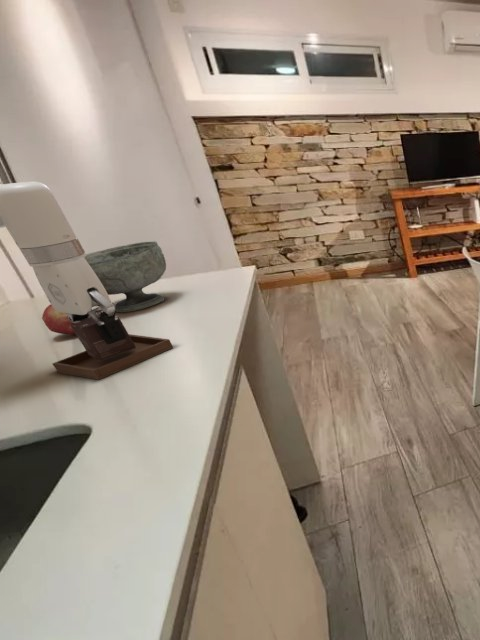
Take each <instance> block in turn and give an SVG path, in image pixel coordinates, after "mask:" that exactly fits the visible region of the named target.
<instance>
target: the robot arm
mask: <svg viewBox="0 0 480 640" xmlns="http://www.w3.org/2000/svg"><path fill="white" fill-rule="evenodd" d="M1 228H6V230H7V231H8V233H9V235H10V236H11V238H12V240H13V241H14V243H15V244H16V246H17V248H18V249H19V251H20V252H21V254H22V256H23V257H24V259H25V261H26V262H27V264H28V265H29V267H31V268H32V270H33V272H34V275H35V276H36V279H37V281H38V283H39V285H40V287H41V289H42V291H43V293H44V295H45V297H46V298H47V300H48V302H49V304H50V305H52V307H53V308H54V310H56V311H58V312H61V313H66V314H67V315H68V318H69V320H70V321H71V322H76V321H79V320H82V319H86V318H88V317H90V316H91V317H92V318H93V319H94V320H95V321H96V323H97V324H98V326H96V327H97V329H98V330H99V332H100V334H101V335H102V337H103V339H104V340H105V342H106V343H107V344H112V343H115V342H117V341H120V340H122V339H125V338H126V337H127V336H126V334H125V332H124V331H123V329H122V327H121V325H120V324H119V322H118V318H117V316H118V315H117V314H116V312H117V311H115V306H114V305H115V304H113V302H112V300H111V298H110V295H108V294H107V292H106V290H105V288H104V286H103V285H102V283H101V282H100V280H99V278H98V277H97V275H96V274H95V272H94V271H93V269H92V268H91V266H90V265H89V264H88V262H87V261H86V260H85V258H84V257H85V256H87V255H86V254H87V253H86V251H85V250H84V248H83V246H82V244H81V242H80V241H79V239H78V237H77V235H76V234H75V231H74V230H73V228H72V226H71V225H70V223H69V221H68V219H67V217H66V215H65V213H64V211H63V210H62V208H61V207H60V204H59V203H58V200H57V199H56V196H54V194H53V192H52V190H51V189H50V187H48V186H47V185H46V184H44V183H43V182H40V181H20V182H12V183H0V229H1ZM94 307H96V308H94ZM99 314H100V317H99V316H98V315H99Z"/></svg>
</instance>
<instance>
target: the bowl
mask: <svg viewBox="0 0 480 640" xmlns="http://www.w3.org/2000/svg"><path fill="white" fill-rule="evenodd" d="M86 255H87V256H85V257H84V258H85V260H86V261H87V262H88V264H89V265H90V266H91V268H92V269H93V271H94V272H95V274H96V275H97V277H98V278H99V280H100V282H101V283H102V285H103V286H104V288H105V290H106V292H107V294H108V295H109V296H111V295H114V296H115V295H120V294H123V295H124V296H125V298H124V299H121V300H120V301H117V302H116V303H115V304H114V306H115V310H114V311H115V312H118V313H128V312H129V313H130V312H136V311H139V310H143V309H147V308H150V307H152V306H155V305H157V304H159V303H161V302H163V301H165V298H164V296H162V294H158V293H155V292H154V293H153V292H151V293H145V292H144V291H143V289H144V288H147V287H148V286H150V285H152V284H155V283H156V282H158V281H159V280H160V279H161V278H162V277H163V276H164V274H165V272H166V269H167V261H166V259H165V255H164V253H163V250H162V248H161V246H159V244H158V242H157V241H155V240H153V241H141V242H135V243H129V244H126V245H118V246H114V247H110V248H104V249H101V250H96V251H93V252H88V253H86Z"/></svg>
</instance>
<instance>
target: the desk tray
mask: <svg viewBox="0 0 480 640" xmlns="http://www.w3.org/2000/svg"><path fill="white" fill-rule="evenodd" d="M128 334H129V336H130V338H131V339H132V341H133V343H134V345H135V346H136V348H135V349H133V350H130V351H127V352H124V353H121V354H118V355H116V356H113V357H110V358H107V359H104V360H101V361H99V360H97V359H95V358H93V357H91V356H89V355H88V353H87V351H86V350H84V351H81V352H79V353H76V354H73V355H71V356H68V357H65V358H63V359H60V360H57V361H55V362H53V363H51V364H52V366H53V368H54V369H55V370H56V372H57V373H59V374H65V375H69V376H70V375H71V376H76V377H82V378H87V379H93V380H100V381H101V380H103V379H104V378H107V377H109V376H111V375H113V374H116V373H118V372H121V371H123V370H125V369H127V368H130V367H132V366H134V365H136V364H137V365H138V364H139V363H142V362H143V361H146V360H148V359H151V358H153V357H156V356H157V355H159V354H163V353H164V352H167V351H169V350H171V349H174V345H173V344H172V342H171V340H170V338H169V339H168V338H161V337H153V336H145V335H138V334H130V333H128Z"/></svg>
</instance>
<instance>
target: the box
mask: <svg viewBox="0 0 480 640" xmlns="http://www.w3.org/2000/svg"><path fill="white" fill-rule="evenodd" d="M100 314H101V313H98V314H97V315H98V316H99V317H100ZM116 316H117V318H118V322H119V324H120V325H121V327H122V329H123V331H124V332H125V334H126V336H127V337H126V338H125V339H122V340H120V341H117V342H115V343H112V344H107V343H106V342H105V340H104V339H103V337H102V335H101V334H100V332H99V330H98V329H97V327H96V326H98V324H97V323H96V321H95V320H94V319H93V318H92V317H89V318H86V319H82V320H79V321H76V322H73V323H70V326H71V327H72V329H73V330H74V332H75V333H76V334H75V335H76V337H77V338H78V340H79V342H80V343H81V345H82V346H83V348H84V349H85V351H87V353H88V355H89V356H91V357H93V358H95V359H97V360H99V361H101V360H104V359H107V358H110V357H113V356H116V355H118V354H121V353H124V352H127V351H130V350H133V349H135V348H136V346H135V345H134V343H133V341H132V339H131V338H130V336H129V334H130V333H129V332H128V330H127V329H126V327H125V326H124V324H123V322H122V320H121V318H120V316H118V315H116Z"/></svg>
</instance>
